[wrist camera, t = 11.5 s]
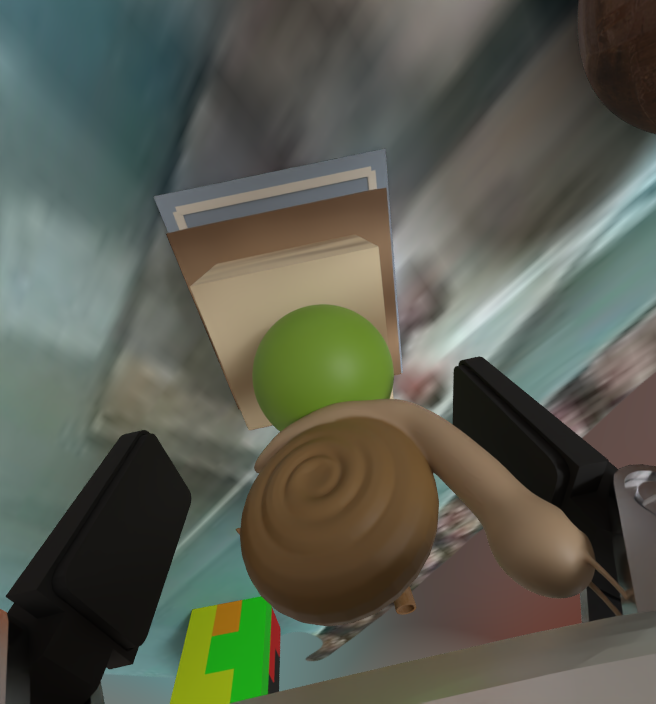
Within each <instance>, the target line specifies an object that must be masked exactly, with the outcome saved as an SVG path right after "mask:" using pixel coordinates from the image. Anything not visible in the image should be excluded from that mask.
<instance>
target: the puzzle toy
mask: <svg viewBox="0 0 656 704" xmlns="http://www.w3.org/2000/svg"><path fill="white" fill-rule="evenodd" d="M279 667H280V626H279V624H278V621H277V619H276V616H275V614H274V611H273V609H272V607H271V605H270V604H269V603H268V602H267V601H266V600H264V599H263V598H262V596H261V597H256V598H251V599H246V600H240V601H235V602H230V603H224V604H219V605H214V606H208V607H203V608H198V609H192V613H191V617H190V621H189V625H188V630H187V634H186V638H185V642H184V646H183V650H182V655H181V659H180V663H179V667H178V671H177V675H176V680H175V684H174V688H173V692H172V696H171V701H170V704H229V703H233V702H238V701H242V700H246V699H250V698H255V697H259V696H263V695H267V694H272V693H276V692H279Z"/></svg>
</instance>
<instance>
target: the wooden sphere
mask: <svg viewBox="0 0 656 704" xmlns="http://www.w3.org/2000/svg"><path fill="white" fill-rule="evenodd" d="M578 42H579V49H580V55H581V60H582V64H583V67H584V70H585V73H586V76H587V78H588V80H589V83H590V85H591V87H592V88H593V90H594V92H595V93H596V95H597V96H598V98H599V99H600V100H601V101H602V103H603V104H604V105H605V106H606V107H607V108H608V109H609V110H610V111H611V112H612V113H614V114H615V115H616V116H618V117H619V118H620V119H622V120H623V121H625V122H627V123H629V124H630V125H632V126H635V127H637V128H639V129H641V130H644V131H647V132H650V133H653V134H656V0H579V4H578Z"/></svg>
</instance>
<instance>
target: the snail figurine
mask: <svg viewBox="0 0 656 704" xmlns="http://www.w3.org/2000/svg"><path fill="white" fill-rule="evenodd" d="M252 379H253V388H254V392H255V396H256V399H257V402H258V404H259V406H260V408H261V410H262V412H263V413H264V415H265V416H266V418H267V419H268V420H269V421H270V423H271V424H272V425H273V426H274V427H275V428H276V429H278V430H279V431H280V433H278V434H277V435H276V436H275V437H274V438H273V440H272V441H271V442H270V443H269V444H268V445H267V447H266V448H265V449H264V450H263V452H262V453H261V454H260V456H259V457H258V459H257V461H256V463H255V467H254V469H255V471H256V472H257V473H259V475H258V476H257V478H256V480H255V481H254V483H253V485H252V487H251V489H250V492H249V494H248V496H247V499H246V502H245V506H244V509H243V513H242V519H241V530H240V542H241V551H242V557H243V560H244V563H245V566H246V569H247V572H248V575H249V577H250V579H251V581H252V582H253V584H254V586H255V587H256V589H257V590H258V592H259V593H260V595H261V596H262V598H263V599H264V600H266V601H267V602H268V603H269V604H270V605H271V606H272V607H274V608H275V609H276V610H277V611H278V612H280V613H282V614H284V615H286V616H289V617H291V618H293V619H295V620H297V621H300V622H303V623H308V624H315V625H322V626H334V625H341V624H349V623H354V622H356V621H359V620H361V619H364V618H366V617H369V616H371V615H374V614H376V613H378V612H379V611H381V610H382V609H384V608H385V607H386V606H388V605H389V604H391V603H392V602H393V601H395V600H396V599H397V598H399V597H400V596H401V595H402V594H403V593H404V591H405V590H406V589H407V588H408V587H409V586H410V585H411V583H412V582H413V581H414V580H415V579H416V578H417V576H418V575H419V573H420V571H421V569H422V568H423V566H424V564H425V562H426V560H427V558H428V557H429V555H430V552H431V549H432V546H433V542H434V539H435V535H436V532H437V524H438V510H439V499H438V493H437V487H436V482H435V479H434V476H433V473H435V474H436V475H437V476H438V477H439V478H440V479H441V480H442V481H443V482H444V483H445V484H446V485H447V486H448V487H449V488H450V489H451V490H452V491H453V492H454V493H455V494H456V495H457V496H458V497H459V498H460V499H461V501H462V502H463V503H464V504H465V505H466V506H467V507H468V508H469V509H470V510H471V511H472V513H473V514H474V515H475V516H476V517H477V518H478V520H479V521H480V522H481V524H482V526H483V527H484V530H485V532H486V535H487V539H488V542H489V546H490V548H491V551H492V553H493V555H494V557H495V559H496V561H497V562H498V564H499V565H500V566H501V568H502V569H503V570H504V571H505V572H506V573H507V575H509V576H510V577H511V578H512V579H513V580H514V581H515V582H517V583H518V584H520V585H521V586H523V587H524V588H526V589H527V590H529V591H531V592H534V593H536V594H539V595H542V596H546V597H551V598H568V597H572V596H575V595H577V594H579V593H581V592H582V591H583V590H585V589H586V588H587V586H589V587H590V588H591V589H592V590H593V591H594V592H595V593H596V594H597V595H598V596H599V597H600V598H601V599H602V600H603V601H604V602H605V603H606V604H607V605H608V607H609V608H610V609H611V610H612V611H613V612H614V613H615V615H616V616H621V615H622V614H621V613H620V612H619V611H618V609H617V608H616V607H615V606H614V605H613V604H612V603H611V601H610V600H609V599H608V598H607V597H606V596H605V595H604V594H603V593H602V592H601V590H600V589H599V588H598V587H597V586H596V585H595V584H594V583H593V582H592V581H591V580H592V578H593V576H594V572H595V569H596V570H597V571H598V572H599V573H601V574H602V575H603V576H604V577H605V578H606V579H607V580H608V581H609V582H610V583H611V584H612V585H613V586H614V587H615V588H616V589H617V590H618V591H619V592H620V593H621V595H622V596H623V597H624V598H625V599H627V594H626V591H625V590H624V589H623V588H622V587H621V586H620V585H619V584H618V583H617V582H616V581H615V580H614V579H613V578H612V577H611V576H610V575H609V574H608V573H607V572H606V571H605V569H604V568H602V567H601V566H600V565H599V564H598V563H597V562H596V561H595V555H594V551H593V547H592V545H591V542H590V540H589V539H588V537H587V536H586V534H584V533H583V532H582V531H580V530H579V529H578V528H577V527H576V526H575V525H574V524H573V523H572V522H571V521H570V520H569V519H568V518H567V516H566V515H565V514H564V512H563V511H562V510H561V509H559V508H558V507H556V506H555V505H553V504H551V503H549V502H547V501H545V500H543V499H542V498H540V497H538V496H536V495H535V494H533V493H532V492H531V491H529V490H528V489H527V488H526V487H524V486H523V485H522V484H521V483H520V482H519V481H518V480H517V479H516V478H515V477H514V476H513V475H512V474H511V473H510V472H509V471H508V470H507V469H506V468H505V467H504V466H503V465H502V464H501V463H500V462H499V461H498V460H497V459H495V458H494V457H493V456H492V455H491V454H490V453H488V452H487V451H486V450H485V449H484V448H482V447H481V446H480V445H479V444H477V443H476V442H475V441H474V440H472V439H471V438H470V437H469V436H467V435H466V434H465V433H463V432H462V431H461V430H460V429H458V428H457V427H455V426H454V425H453V424H451V423H450V422H448V421H447V420H445V419H443V418H442V417H440V416H439V415H437V414H435V413H433V412H431V411H429V410H427V409H425V408H423V407H421V406H419V405H416V404H414V403H411V402H408V401H403V400H397V399H390V396H391V393H392V388H393V381H394V369H393V362H392V357H391V354H390V351H389V348H388V346H387V344H386V342H385V340H384V338H383V337H382V335H381V334H380V332H379V331H378V330H377V329H376V328H375V327H374V326H373V325H372V324H371V323H370V322H369V321H368V320H367V319H366V318H364V317H363V316H361V315H360V314H358V313H356V312H354V311H352V310H350V309H347V308H344V307H340V306H336V305H328V304H319V305H311V306H306V307H302V308H299V309H297V310H294V311H292V312H290V313H288V314H287V315H285V316H284V317H282V318H281V319H279V320H278V321H277V322H276V323H275V324H274V325H273V326H272V327H271V328H270V329H269V330H268V332H267V333H266V334H265V336H264V337H263V339H262V341H261V342H260V344H259V347H258V349H257V352H256V355H255V358H254V363H253V372H252Z"/></svg>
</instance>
